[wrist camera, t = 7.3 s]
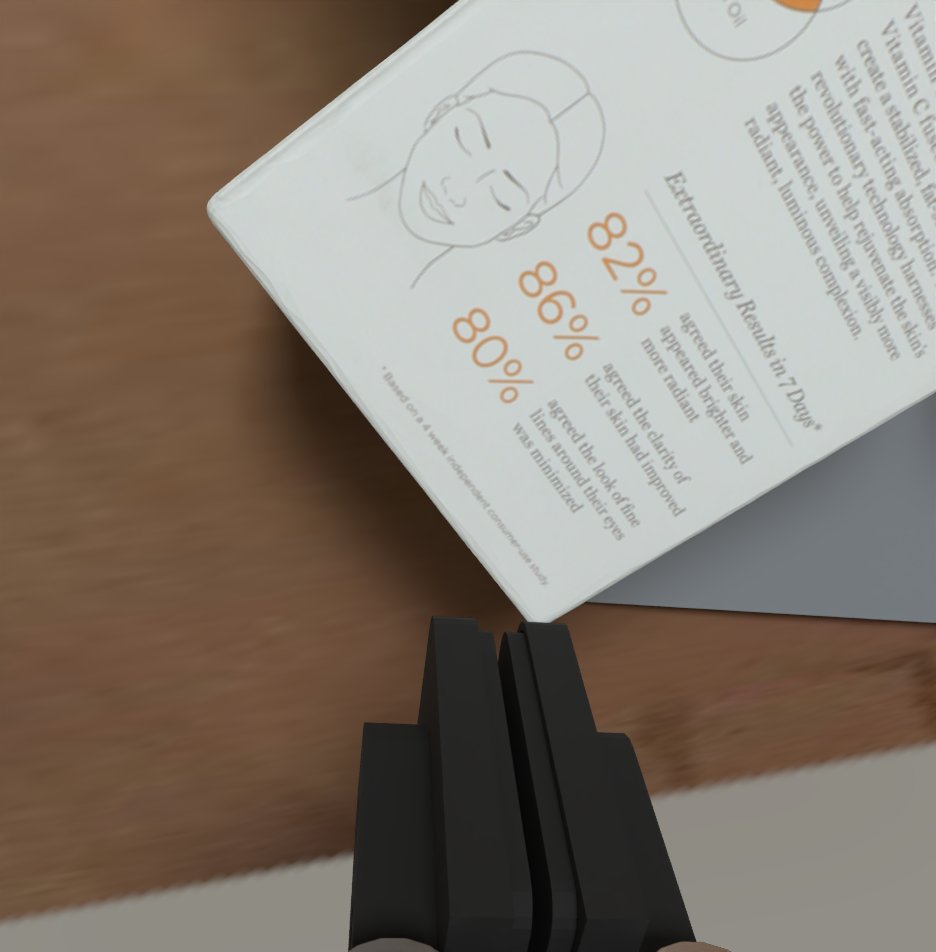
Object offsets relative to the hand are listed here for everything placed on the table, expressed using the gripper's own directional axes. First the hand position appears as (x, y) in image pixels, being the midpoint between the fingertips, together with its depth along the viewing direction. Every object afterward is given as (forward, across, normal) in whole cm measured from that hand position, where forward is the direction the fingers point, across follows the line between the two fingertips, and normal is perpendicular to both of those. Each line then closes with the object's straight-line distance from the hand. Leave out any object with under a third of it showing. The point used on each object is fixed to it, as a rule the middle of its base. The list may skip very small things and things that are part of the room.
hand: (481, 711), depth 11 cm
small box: (+5, +2, -2) cm, 6 cm away
